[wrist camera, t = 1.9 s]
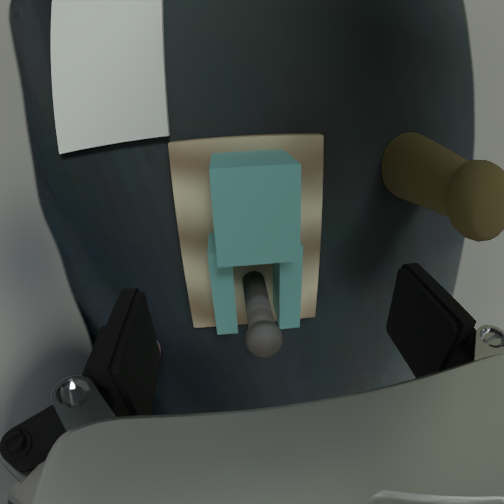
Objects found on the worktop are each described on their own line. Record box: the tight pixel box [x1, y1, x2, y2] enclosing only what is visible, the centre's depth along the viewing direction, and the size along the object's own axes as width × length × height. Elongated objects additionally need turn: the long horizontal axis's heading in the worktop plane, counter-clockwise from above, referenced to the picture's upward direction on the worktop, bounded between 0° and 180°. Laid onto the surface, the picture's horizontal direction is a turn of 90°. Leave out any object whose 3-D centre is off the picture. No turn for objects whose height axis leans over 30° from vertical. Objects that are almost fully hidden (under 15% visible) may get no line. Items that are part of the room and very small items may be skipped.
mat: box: [51, 0, 170, 154], centre depth 18 cm, size 15×9×1 cm, turn 2°
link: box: [207, 149, 303, 335], centre depth 22 cm, size 13×6×6 cm, turn 2°
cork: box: [381, 132, 504, 242], centre depth 20 cm, size 6×6×11 cm
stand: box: [168, 134, 324, 357], centre depth 22 cm, size 16×11×10 cm
